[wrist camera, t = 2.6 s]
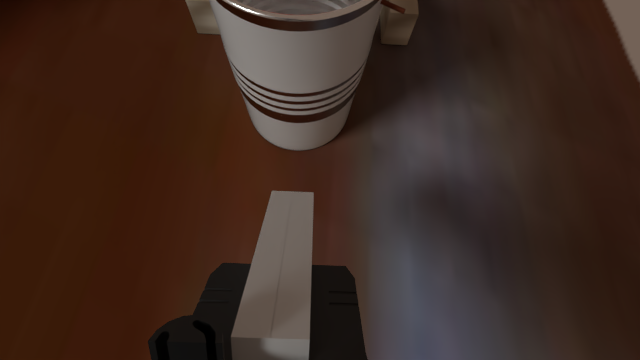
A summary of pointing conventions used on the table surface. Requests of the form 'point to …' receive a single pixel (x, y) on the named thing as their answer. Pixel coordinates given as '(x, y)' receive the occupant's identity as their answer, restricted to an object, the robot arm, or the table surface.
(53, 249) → the table surface
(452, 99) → the table surface
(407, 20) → the cream wooden u-shaped piece
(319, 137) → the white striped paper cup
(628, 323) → the table surface
